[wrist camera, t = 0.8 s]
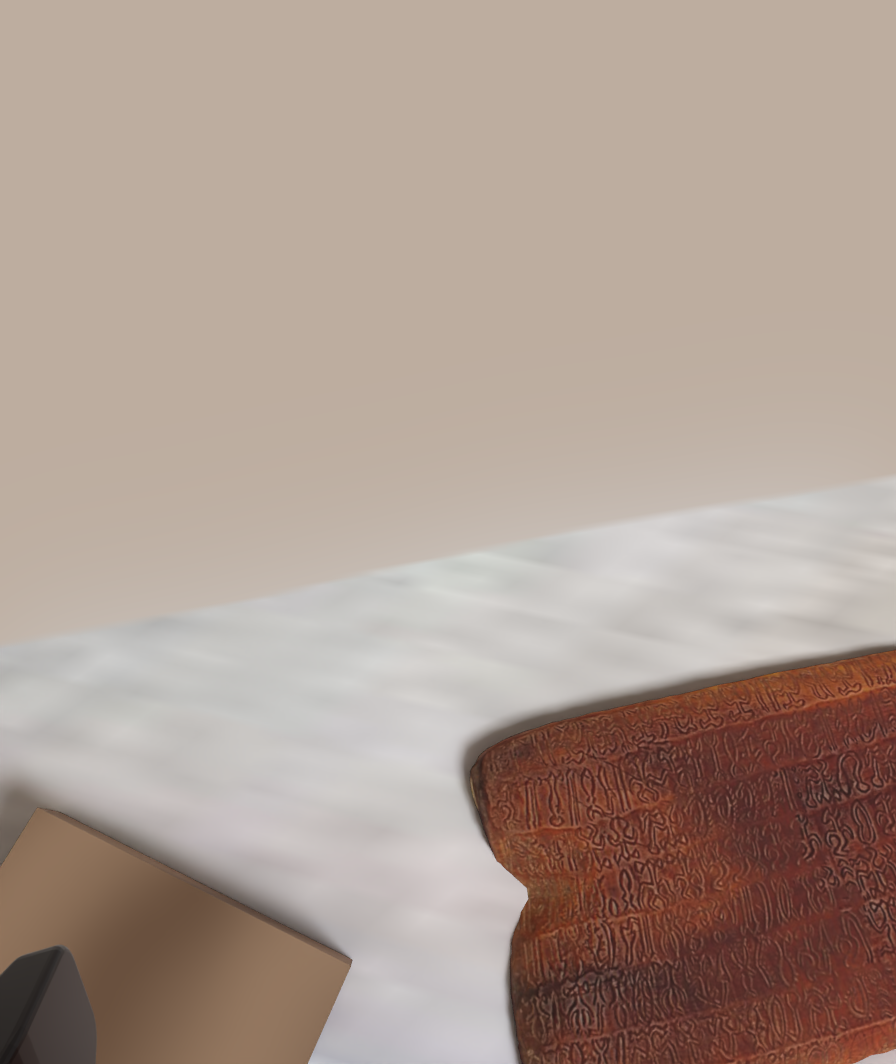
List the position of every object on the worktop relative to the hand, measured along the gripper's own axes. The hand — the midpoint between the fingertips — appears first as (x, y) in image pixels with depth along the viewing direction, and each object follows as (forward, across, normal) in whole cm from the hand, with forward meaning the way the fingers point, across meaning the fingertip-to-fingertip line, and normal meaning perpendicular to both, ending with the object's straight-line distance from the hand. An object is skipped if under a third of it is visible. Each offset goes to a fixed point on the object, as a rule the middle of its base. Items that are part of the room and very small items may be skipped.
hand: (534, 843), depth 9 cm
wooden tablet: (+11, -14, +12) cm, 22 cm away
